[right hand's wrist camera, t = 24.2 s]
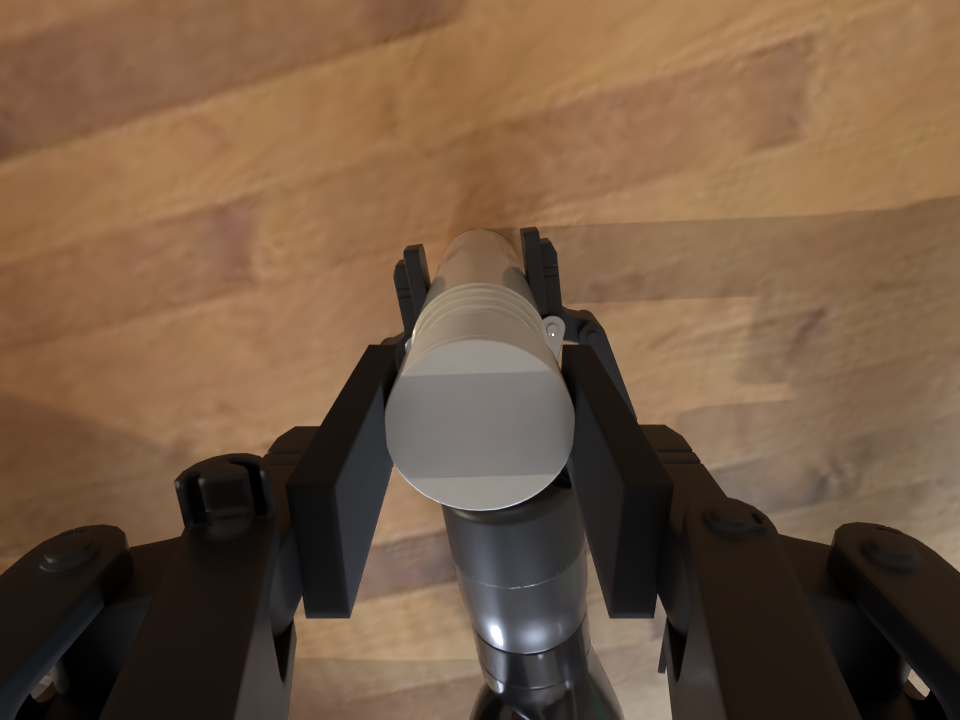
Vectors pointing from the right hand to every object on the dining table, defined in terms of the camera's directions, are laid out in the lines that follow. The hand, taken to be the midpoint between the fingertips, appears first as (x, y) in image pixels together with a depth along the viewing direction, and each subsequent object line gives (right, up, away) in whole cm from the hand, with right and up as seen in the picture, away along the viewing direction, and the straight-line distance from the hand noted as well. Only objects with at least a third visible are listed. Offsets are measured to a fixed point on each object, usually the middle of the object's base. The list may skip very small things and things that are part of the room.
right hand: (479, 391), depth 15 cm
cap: (0, -1, -2) cm, 2 cm away
